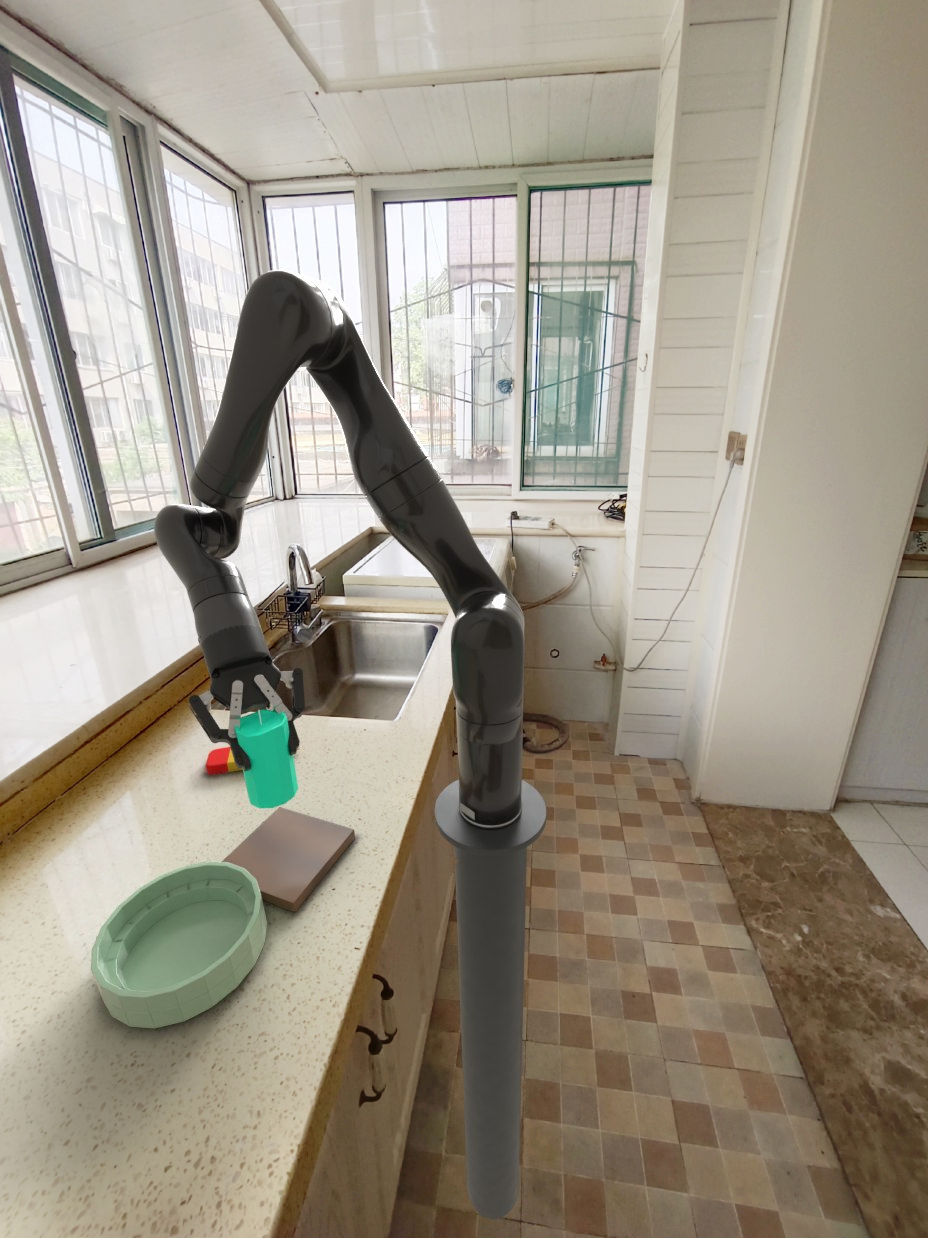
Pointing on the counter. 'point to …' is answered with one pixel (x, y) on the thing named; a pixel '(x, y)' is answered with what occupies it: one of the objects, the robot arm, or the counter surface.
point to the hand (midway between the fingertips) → (271, 760)
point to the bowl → (179, 944)
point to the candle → (267, 758)
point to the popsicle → (222, 761)
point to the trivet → (291, 855)
